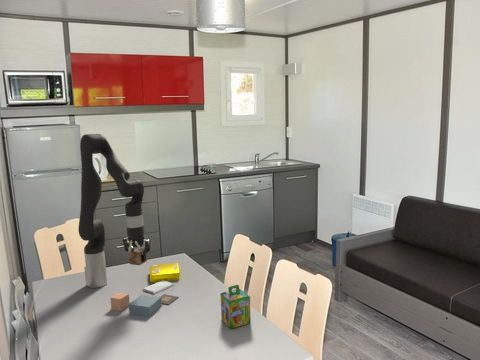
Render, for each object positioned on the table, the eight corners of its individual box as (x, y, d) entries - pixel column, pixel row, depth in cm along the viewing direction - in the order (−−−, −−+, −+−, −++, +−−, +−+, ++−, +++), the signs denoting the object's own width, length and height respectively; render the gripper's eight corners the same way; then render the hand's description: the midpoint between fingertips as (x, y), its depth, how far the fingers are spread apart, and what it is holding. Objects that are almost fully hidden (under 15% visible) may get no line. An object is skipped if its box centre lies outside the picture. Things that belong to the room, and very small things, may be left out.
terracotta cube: (111, 309, 181) (110, 297, 180) (119, 303, 186) (118, 292, 185) (121, 311, 179) (120, 299, 178) (129, 305, 184) (128, 294, 183)
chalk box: (230, 329, 160) (229, 293, 158) (220, 319, 168) (219, 285, 166) (251, 323, 164) (250, 288, 162) (241, 314, 172) (239, 280, 170)
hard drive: (153, 292, 194) (173, 283, 203) (142, 288, 199) (162, 279, 209) (154, 295, 194) (174, 286, 204) (143, 291, 199) (162, 282, 209)
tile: (153, 302, 186) (153, 301, 186) (163, 294, 193) (163, 293, 193) (168, 305, 183) (168, 304, 183) (178, 297, 190) (178, 296, 190)
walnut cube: (129, 264, 187) (128, 252, 186) (137, 260, 192) (136, 248, 191) (139, 265, 184) (138, 253, 184) (147, 261, 189) (146, 249, 189)
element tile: (180, 280, 210) (179, 271, 210) (150, 283, 208) (149, 274, 207) (178, 269, 225) (178, 261, 224) (150, 272, 222) (149, 264, 221)
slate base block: (129, 314, 176) (128, 304, 175) (141, 304, 186) (141, 294, 185) (150, 317, 173) (149, 307, 172) (161, 306, 182) (161, 296, 182)
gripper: (116, 226, 185) (120, 262, 187) (143, 228, 179) (146, 265, 182) (127, 221, 192) (130, 256, 194) (153, 223, 186) (156, 259, 188)
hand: (138, 261), depth 188 cm, fingers closed on walnut cube, 5 cm apart
